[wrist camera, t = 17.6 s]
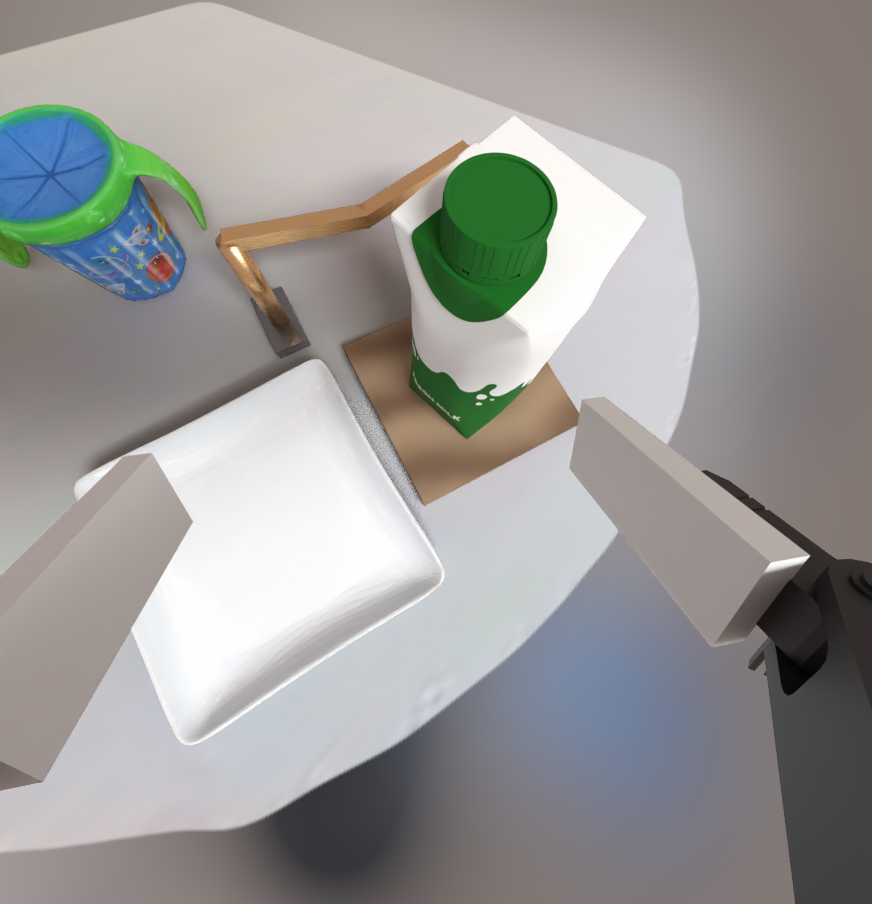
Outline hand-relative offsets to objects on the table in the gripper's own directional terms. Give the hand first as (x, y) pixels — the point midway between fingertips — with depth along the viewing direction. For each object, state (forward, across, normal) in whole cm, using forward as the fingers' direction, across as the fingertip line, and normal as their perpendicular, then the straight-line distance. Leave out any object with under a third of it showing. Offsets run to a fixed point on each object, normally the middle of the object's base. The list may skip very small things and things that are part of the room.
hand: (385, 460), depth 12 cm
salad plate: (+14, -11, -15) cm, 23 cm away
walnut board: (+21, +7, -7) cm, 23 cm away
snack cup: (+32, -21, +3) cm, 39 cm away
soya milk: (+20, +7, -7) cm, 22 cm away
